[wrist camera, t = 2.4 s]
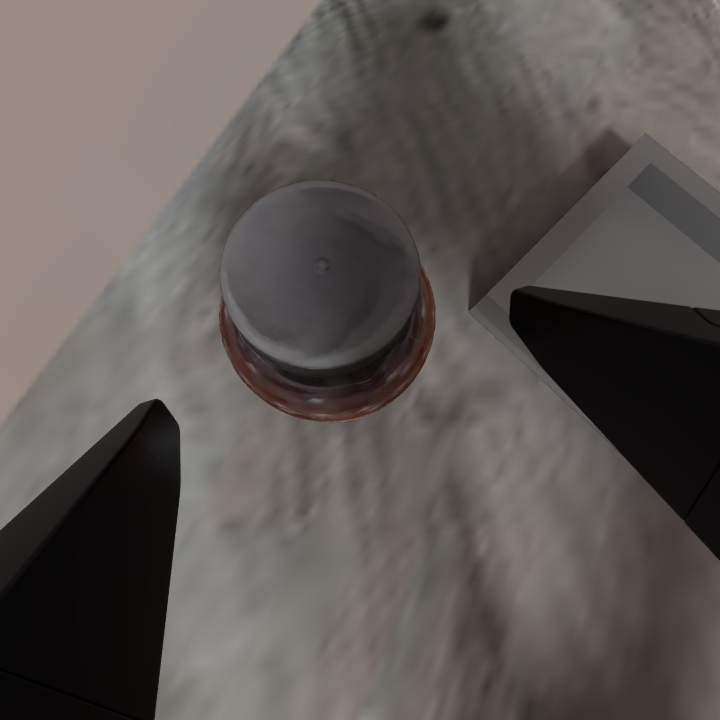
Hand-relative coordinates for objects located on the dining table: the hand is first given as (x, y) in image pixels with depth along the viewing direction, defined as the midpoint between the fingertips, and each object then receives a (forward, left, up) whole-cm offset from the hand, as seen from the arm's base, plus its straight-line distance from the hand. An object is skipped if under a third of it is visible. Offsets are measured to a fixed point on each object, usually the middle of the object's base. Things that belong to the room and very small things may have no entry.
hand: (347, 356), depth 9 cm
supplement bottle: (+1, -1, -9) cm, 9 cm away
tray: (-8, -14, -9) cm, 18 cm away
